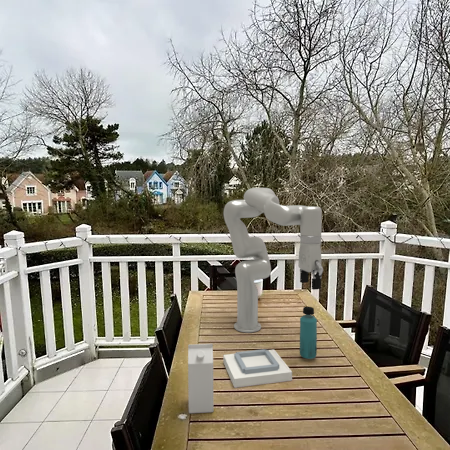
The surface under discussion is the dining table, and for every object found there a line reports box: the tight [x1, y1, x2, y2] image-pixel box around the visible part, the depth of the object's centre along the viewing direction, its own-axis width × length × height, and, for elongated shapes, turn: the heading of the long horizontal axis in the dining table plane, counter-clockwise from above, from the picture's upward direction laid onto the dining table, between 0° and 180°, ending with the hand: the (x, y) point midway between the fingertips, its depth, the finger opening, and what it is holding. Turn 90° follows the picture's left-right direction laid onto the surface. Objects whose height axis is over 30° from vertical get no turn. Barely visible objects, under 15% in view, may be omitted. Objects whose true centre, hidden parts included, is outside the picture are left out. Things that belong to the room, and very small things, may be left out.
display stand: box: [222, 348, 293, 389], centre depth 123 cm, size 17×20×4 cm
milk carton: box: [187, 343, 214, 414], centre depth 102 cm, size 7×7×19 cm
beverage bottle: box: [299, 306, 318, 359], centre depth 131 cm, size 6×7×20 cm
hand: (309, 285), depth 129 cm, fingers open, 9 cm apart
